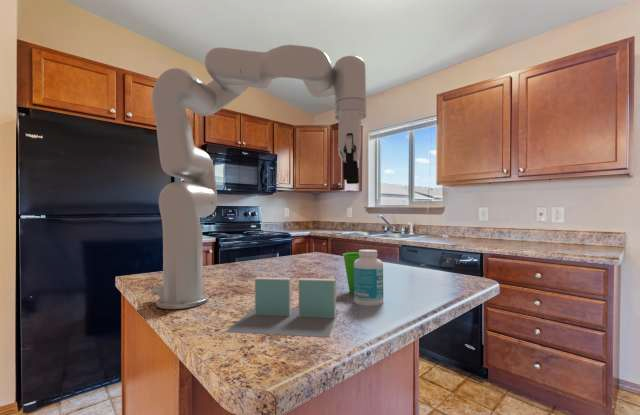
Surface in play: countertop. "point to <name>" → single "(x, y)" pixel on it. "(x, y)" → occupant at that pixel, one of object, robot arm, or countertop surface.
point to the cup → (350, 268)
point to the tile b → (317, 297)
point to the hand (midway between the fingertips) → (351, 181)
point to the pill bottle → (368, 279)
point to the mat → (284, 324)
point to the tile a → (273, 296)
